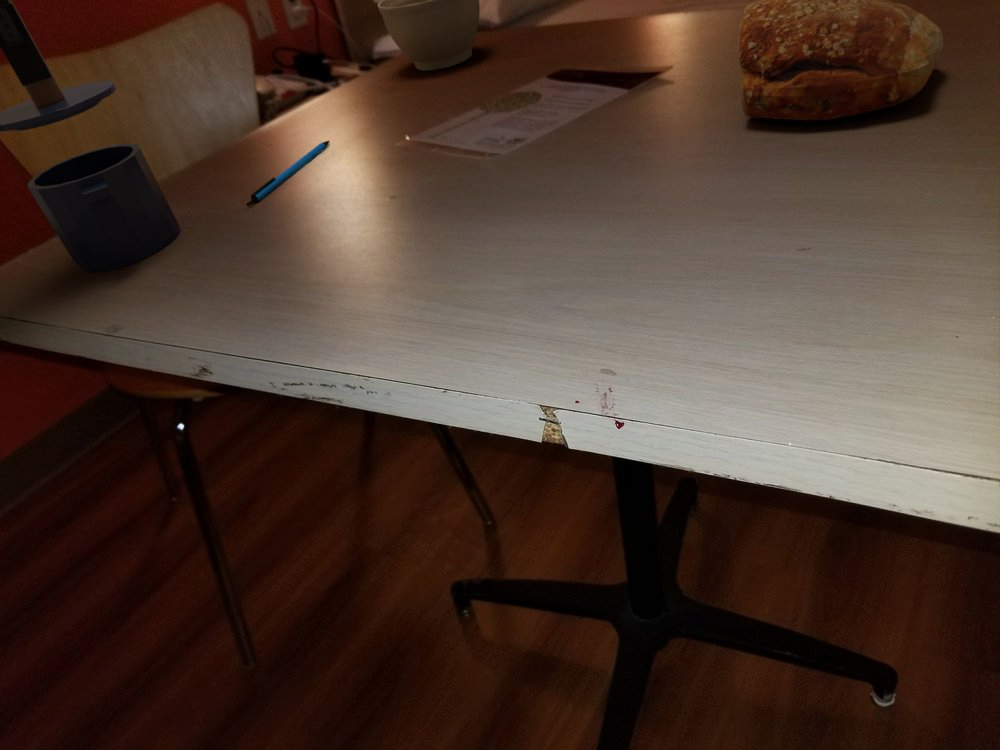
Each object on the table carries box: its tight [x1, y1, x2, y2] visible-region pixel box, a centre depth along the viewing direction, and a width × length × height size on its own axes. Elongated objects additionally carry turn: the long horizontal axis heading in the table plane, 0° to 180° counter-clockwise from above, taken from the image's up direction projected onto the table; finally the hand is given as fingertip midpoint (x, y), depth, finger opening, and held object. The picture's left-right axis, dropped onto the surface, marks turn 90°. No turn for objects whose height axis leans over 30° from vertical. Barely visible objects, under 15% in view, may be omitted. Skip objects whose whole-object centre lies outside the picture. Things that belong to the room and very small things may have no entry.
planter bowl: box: [377, 0, 481, 72], centre depth 118 cm, size 16×16×11 cm
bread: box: [737, 0, 945, 121], centre depth 72 cm, size 20×18×10 cm
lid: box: [0, 0, 117, 133], centre depth 70 cm, size 12×12×11 cm
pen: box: [246, 140, 330, 207], centre depth 90 cm, size 1×19×1 cm, turn 161°
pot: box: [27, 143, 181, 273], centre depth 79 cm, size 11×17×10 cm
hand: (36, 78), depth 71 cm, fingers closed on lid, 3 cm apart
